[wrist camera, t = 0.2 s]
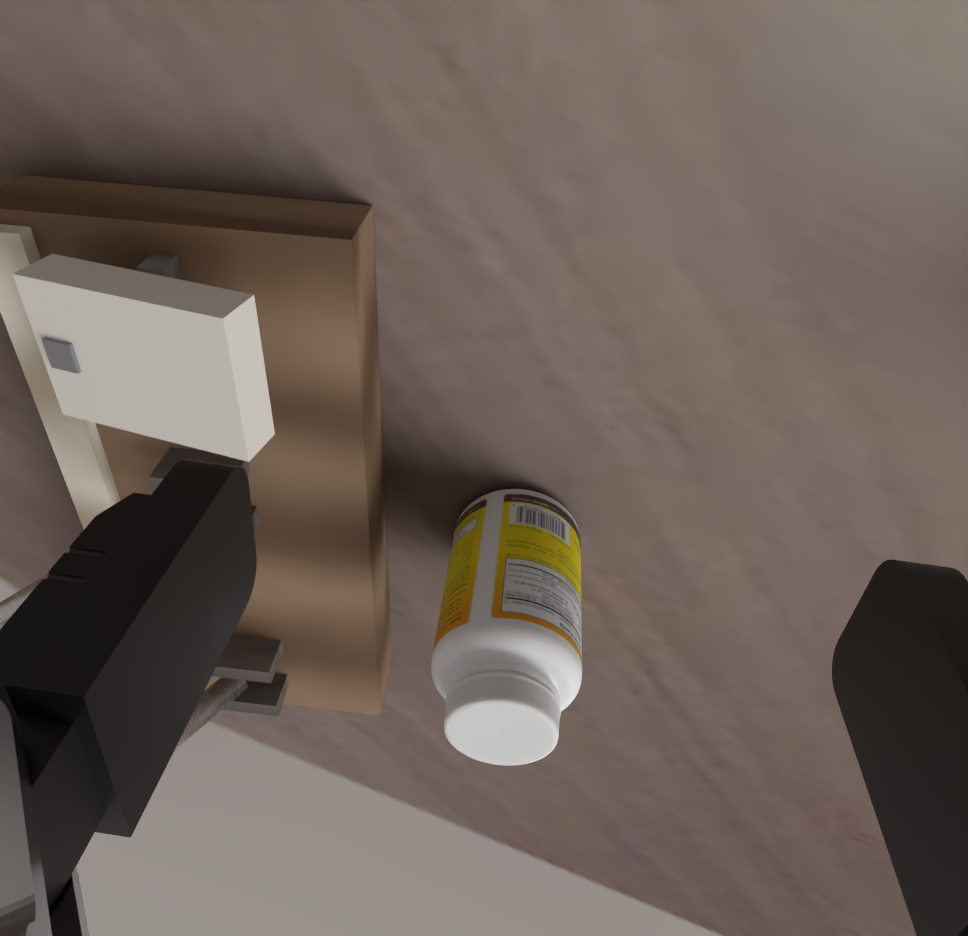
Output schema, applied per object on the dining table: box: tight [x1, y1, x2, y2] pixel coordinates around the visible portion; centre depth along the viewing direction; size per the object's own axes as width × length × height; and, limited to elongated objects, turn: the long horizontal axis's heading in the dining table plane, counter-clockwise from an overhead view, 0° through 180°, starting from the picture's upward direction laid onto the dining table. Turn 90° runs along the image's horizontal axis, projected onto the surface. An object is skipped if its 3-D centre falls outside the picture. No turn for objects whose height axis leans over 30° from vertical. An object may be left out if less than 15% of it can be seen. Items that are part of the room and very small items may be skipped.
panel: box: [0, 175, 391, 716], centre depth 31 cm, size 25×12×5 cm, turn 177°
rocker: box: [13, 254, 275, 462], centre depth 24 cm, size 5×7×2 cm
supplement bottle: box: [431, 489, 582, 765], centre depth 30 cm, size 6×6×10 cm
